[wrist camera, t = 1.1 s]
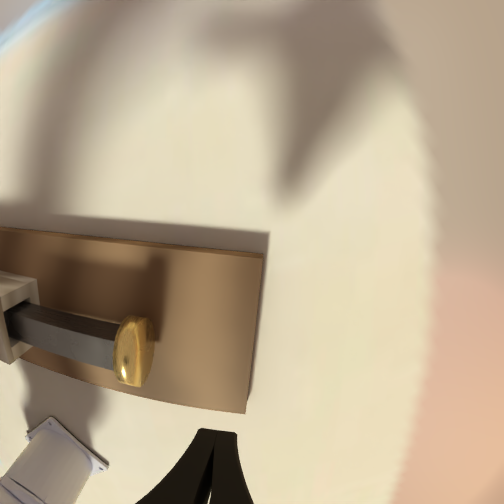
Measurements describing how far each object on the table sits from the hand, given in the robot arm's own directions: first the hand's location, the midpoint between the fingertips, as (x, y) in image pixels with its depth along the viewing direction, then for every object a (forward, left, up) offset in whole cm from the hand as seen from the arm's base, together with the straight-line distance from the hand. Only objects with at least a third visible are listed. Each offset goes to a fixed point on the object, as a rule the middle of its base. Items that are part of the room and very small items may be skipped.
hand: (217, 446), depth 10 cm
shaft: (-8, +8, -8) cm, 13 cm away
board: (-8, +8, -9) cm, 15 cm away
